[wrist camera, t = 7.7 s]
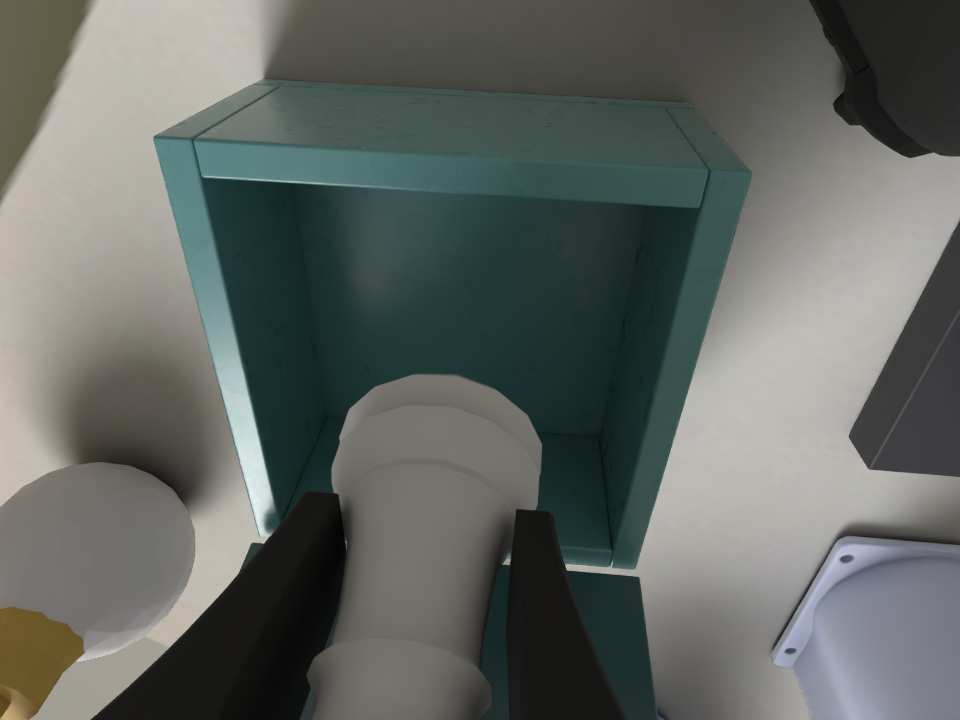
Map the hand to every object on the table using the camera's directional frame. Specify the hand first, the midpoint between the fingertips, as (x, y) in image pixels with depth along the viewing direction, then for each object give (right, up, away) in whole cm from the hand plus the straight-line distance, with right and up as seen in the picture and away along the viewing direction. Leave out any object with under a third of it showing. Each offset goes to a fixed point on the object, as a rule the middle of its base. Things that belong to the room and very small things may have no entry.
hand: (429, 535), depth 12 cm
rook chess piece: (0, +2, +2) cm, 3 cm away
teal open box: (+1, +6, +8) cm, 10 cm away
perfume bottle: (-13, -3, +16) cm, 21 cm away
